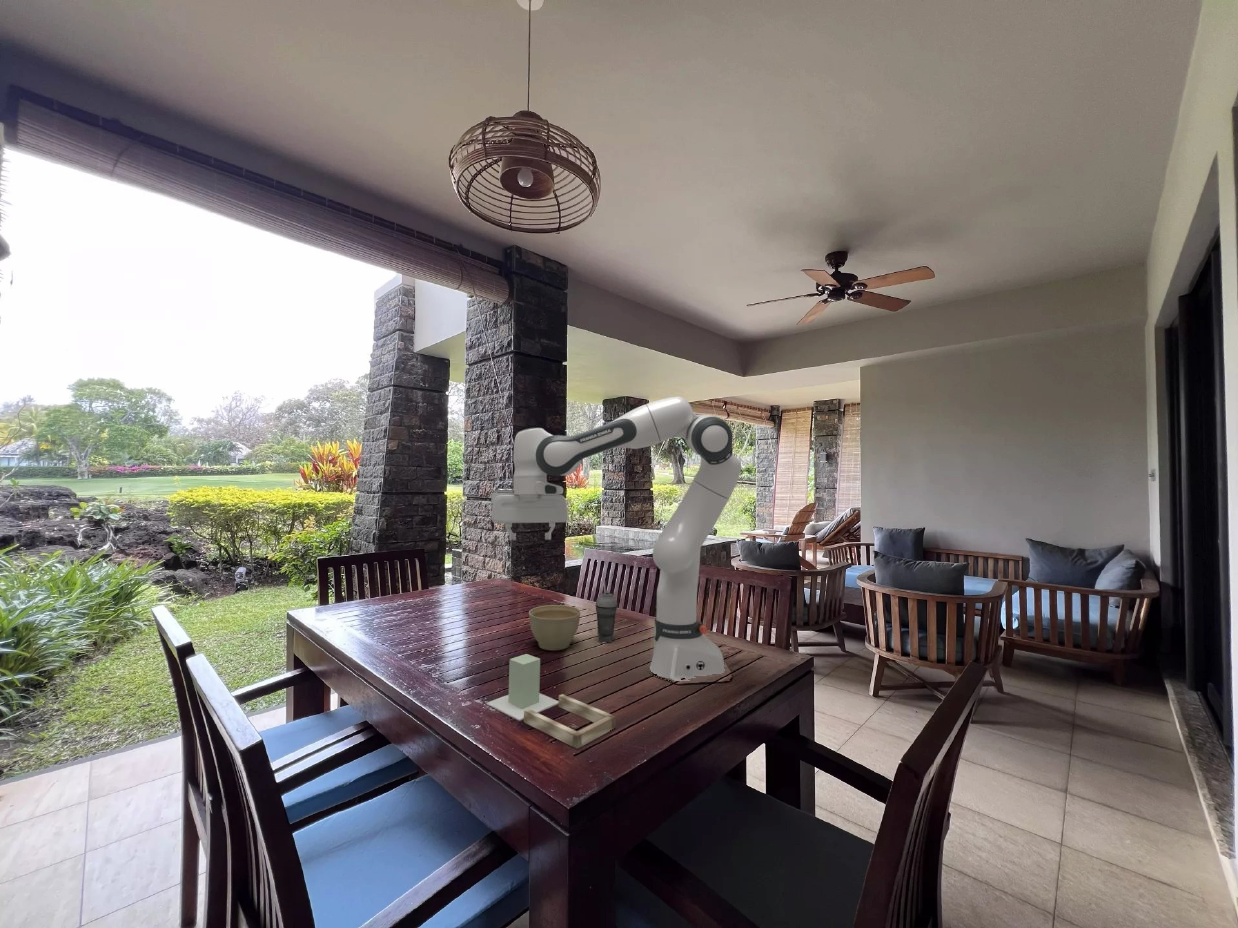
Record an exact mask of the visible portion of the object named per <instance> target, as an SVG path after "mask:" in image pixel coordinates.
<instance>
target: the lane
mask: <svg viewBox="0 0 1238 928" xmlns="http://www.w3.org/2000/svg"><path fill="white" fill-rule="evenodd" d="M558 701H559V704H557V706H558V707H559V708H560V709H563V710H565V711H567V712H569V713H572V714H574V715H577V716H579V717H581V718H583V719H585V720H588V721H590V722H592V723H591V724H590V725H588V726H586V727H584V728H582V729H581V730H578V731H576V730H575V729H572V728H570V727H569V726H566V725H564V724H562V723H560V722H558V721H556V720H553V719H552V718H549V717H547V716H545V715H543V714H541V713H540V712H539V713H537V712H535V711H533V710H530V709H526V710H524V719H523V723H524V724H526V725H529V726H530V727H533V728H534V729H536V730H539V731H541V732H543V733H545V734H546V735H547V736H551V737H552V738H555V739H557V740H559V741H561V743H564V744H566V745H568V746H571V747H572V748H574V749H576V750H578V749H580V748H582V747H584V746H585V745H587V744H589V743H590V742H593V741H594V740H596V739H599V738H600V737H602V736H603V735H605V734H607V733H609V732H610V730H611V731H612V729H613V730H615V729H616V715H613V714H611V713H609V712H606V711H605V710H601V709H599V708H598V707H597V708H596V707H594V706H592V705H589V704H587V703H585V702H582V701H580V700H577V699H575V698H573V697H570V696H568V695H566V694H563V693H562V694H559V695H558ZM614 728H615V729H614Z"/></svg>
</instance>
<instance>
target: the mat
mask: <svg viewBox="0 0 1238 928" xmlns="http://www.w3.org/2000/svg"><path fill="white" fill-rule="evenodd" d="M508 697H509V694H507V695H503V696H501V697H498V698H495V699H493V700H490V701H488V702H486V703H485V704H486V705H487V706H489V707H491V708H493V709H495V710H496V711H499V712H501V713H503V714H505V715H506V716H509V717H511V718H513V719H514V720H517V721H518V722H520V721H522V720H523V721H524V710H526V709H530V710H533V711H535V712H537V713H539V714H540V713H541V712H543V711H546V710H547V709H550V708H552V707H555V706H558V704H559V700H556V699H554V698H552V697H550V696H547V695H545V694H542V693H540V692H539V702H538V703H536V704H533V705H531V706H529V707H526V708H524V709H521V708H519V707H516V706H514V705H512V704H510V703H508Z"/></svg>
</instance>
